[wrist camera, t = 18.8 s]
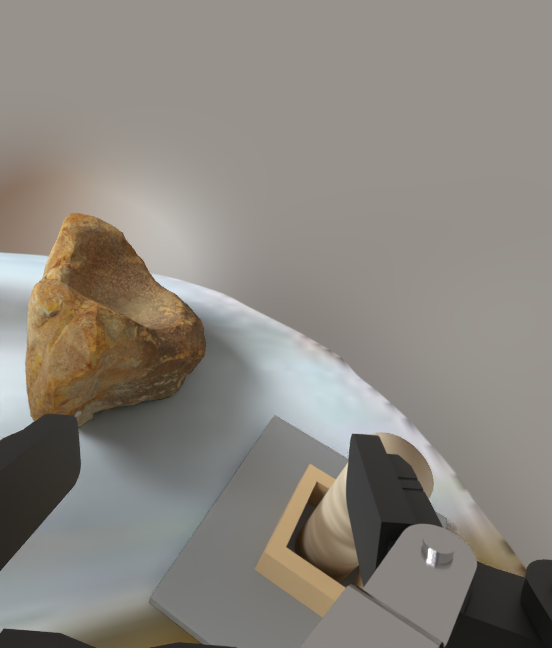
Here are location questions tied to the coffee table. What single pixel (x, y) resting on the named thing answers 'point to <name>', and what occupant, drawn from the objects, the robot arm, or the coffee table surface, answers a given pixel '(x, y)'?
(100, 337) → the rough brown rock
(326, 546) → the wooden peg
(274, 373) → the coffee table surface
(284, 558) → the collar board
